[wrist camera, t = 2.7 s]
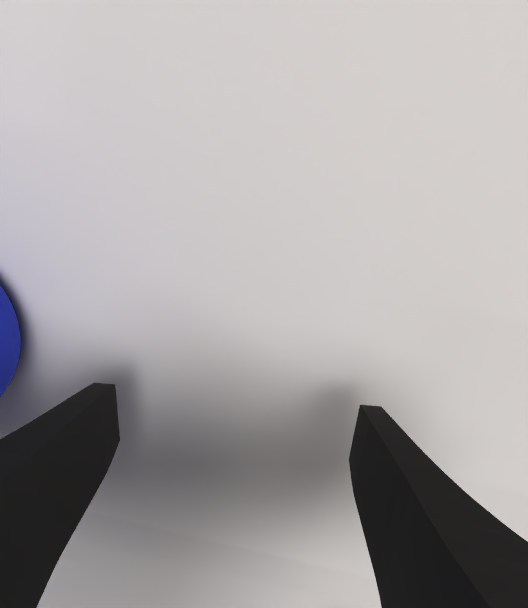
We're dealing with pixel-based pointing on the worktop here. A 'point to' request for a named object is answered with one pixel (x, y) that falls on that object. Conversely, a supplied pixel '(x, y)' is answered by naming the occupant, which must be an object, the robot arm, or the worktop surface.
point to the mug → (8, 341)
